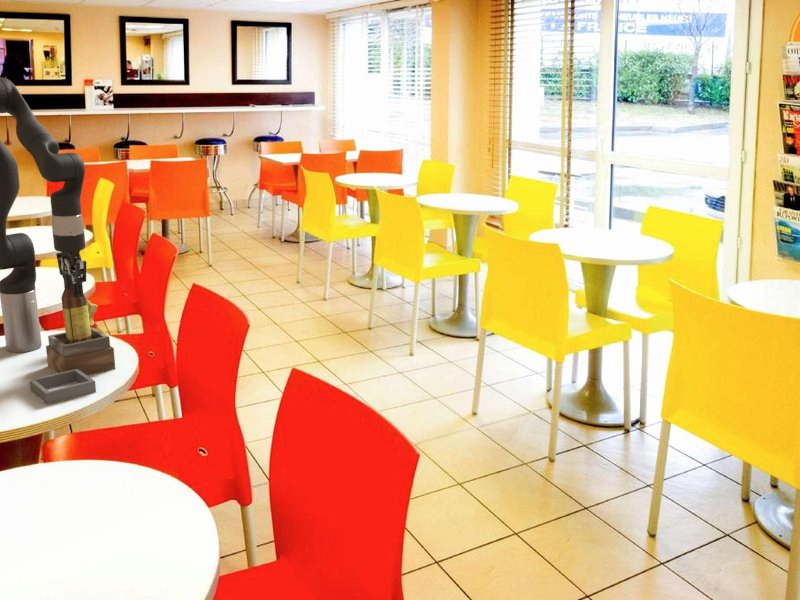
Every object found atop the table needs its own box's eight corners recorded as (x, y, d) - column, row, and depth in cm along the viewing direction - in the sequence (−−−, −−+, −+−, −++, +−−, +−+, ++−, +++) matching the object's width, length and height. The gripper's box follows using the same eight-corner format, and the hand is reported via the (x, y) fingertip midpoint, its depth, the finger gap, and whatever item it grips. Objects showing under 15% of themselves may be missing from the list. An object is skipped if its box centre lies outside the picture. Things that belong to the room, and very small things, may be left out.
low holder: (30, 391, 194) (29, 380, 193) (78, 379, 202) (77, 368, 201) (47, 404, 186) (46, 393, 185) (96, 392, 194) (95, 381, 193)
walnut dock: (48, 366, 209) (44, 335, 207) (95, 355, 218) (92, 325, 216) (67, 380, 201) (63, 348, 198) (115, 368, 209) (112, 337, 207)
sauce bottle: (96, 339, 210) (89, 268, 205) (84, 346, 204) (78, 274, 199) (73, 337, 211) (66, 267, 205) (61, 345, 205) (53, 273, 199)
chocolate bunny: (70, 347, 224) (65, 298, 220) (110, 345, 227) (105, 296, 223) (66, 355, 218) (61, 304, 214) (107, 353, 221) (103, 303, 216)
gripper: (43, 228, 201) (49, 291, 206) (64, 237, 191) (71, 303, 196) (71, 225, 206) (77, 286, 211) (94, 234, 196) (99, 298, 201)
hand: (74, 294), depth 204 cm, fingers open, 5 cm apart
